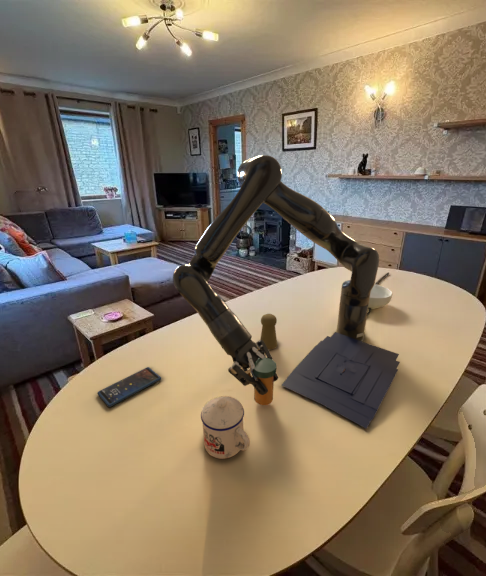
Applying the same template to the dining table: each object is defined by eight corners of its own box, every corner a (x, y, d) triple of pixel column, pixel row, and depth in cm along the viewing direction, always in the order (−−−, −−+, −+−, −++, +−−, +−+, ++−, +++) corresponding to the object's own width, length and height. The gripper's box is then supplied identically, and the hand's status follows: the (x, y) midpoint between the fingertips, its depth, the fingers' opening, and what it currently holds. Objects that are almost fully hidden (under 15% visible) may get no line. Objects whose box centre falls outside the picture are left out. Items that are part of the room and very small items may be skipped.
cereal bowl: (393, 302, 134) (396, 287, 132) (385, 317, 121) (388, 301, 119) (354, 294, 143) (356, 280, 140) (343, 307, 130) (344, 292, 127)
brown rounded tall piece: (275, 350, 101) (276, 321, 96) (257, 348, 102) (257, 319, 97) (278, 340, 106) (279, 312, 102) (261, 339, 107) (261, 310, 103)
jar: (262, 389, 82) (262, 357, 78) (276, 397, 79) (278, 365, 75) (250, 399, 78) (250, 366, 74) (265, 408, 75) (265, 375, 71)
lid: (262, 360, 79) (262, 354, 78) (281, 369, 75) (281, 364, 75) (247, 371, 75) (247, 365, 74) (266, 382, 71) (266, 376, 71)
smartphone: (161, 377, 87) (108, 406, 77) (162, 379, 87) (109, 408, 77) (148, 366, 92) (96, 391, 81) (148, 368, 92) (96, 394, 82)
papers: (404, 363, 92) (406, 354, 90) (366, 437, 72) (368, 426, 70) (329, 336, 106) (330, 328, 104) (280, 392, 86) (280, 382, 84)
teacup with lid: (194, 443, 68) (190, 402, 63) (225, 419, 74) (223, 380, 69) (233, 478, 60) (231, 434, 56) (263, 448, 67) (263, 406, 62)
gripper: (220, 338, 69) (266, 400, 68) (253, 313, 80) (293, 365, 79) (203, 351, 73) (246, 409, 72) (236, 325, 85) (274, 375, 84)
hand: (270, 386), depth 76 cm, fingers closed on jar, 5 cm apart
